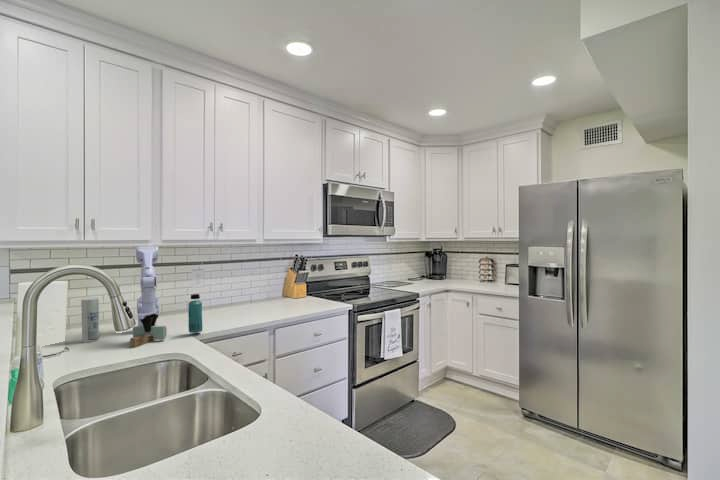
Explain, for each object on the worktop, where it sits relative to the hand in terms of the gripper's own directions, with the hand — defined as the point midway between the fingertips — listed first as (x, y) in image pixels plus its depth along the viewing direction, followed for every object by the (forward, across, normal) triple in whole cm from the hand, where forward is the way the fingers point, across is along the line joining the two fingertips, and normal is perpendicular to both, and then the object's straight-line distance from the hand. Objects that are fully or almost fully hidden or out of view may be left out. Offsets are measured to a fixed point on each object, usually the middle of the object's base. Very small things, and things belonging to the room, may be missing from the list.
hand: (149, 331), depth 169 cm
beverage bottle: (+5, -10, +17) cm, 20 cm away
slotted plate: (+4, 0, 0) cm, 4 cm away
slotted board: (+5, 0, 0) cm, 5 cm away
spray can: (+5, -2, -28) cm, 29 cm away
